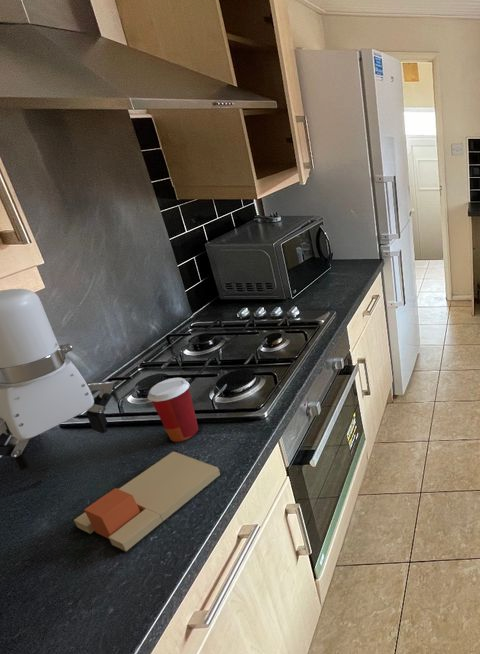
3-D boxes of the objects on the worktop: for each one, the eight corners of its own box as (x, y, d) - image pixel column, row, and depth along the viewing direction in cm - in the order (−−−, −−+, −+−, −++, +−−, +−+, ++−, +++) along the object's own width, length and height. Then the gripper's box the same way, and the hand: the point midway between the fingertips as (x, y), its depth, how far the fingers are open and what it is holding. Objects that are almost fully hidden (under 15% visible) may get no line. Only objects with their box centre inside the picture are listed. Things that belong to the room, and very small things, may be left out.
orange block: (112, 541, 76) (101, 517, 74) (95, 532, 78) (83, 509, 76) (142, 517, 81) (132, 495, 79) (126, 510, 82) (115, 487, 80)
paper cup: (203, 418, 107) (187, 372, 102) (204, 435, 101) (188, 388, 96) (164, 431, 103) (146, 384, 97) (163, 450, 97) (144, 401, 92)
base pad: (126, 551, 75) (122, 544, 74) (77, 527, 79) (73, 520, 78) (220, 474, 90) (218, 467, 90) (175, 457, 95) (173, 451, 94)
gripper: (82, 336, 75) (111, 412, 81) (-68, 391, 60) (-18, 480, 66) (109, 344, 73) (137, 422, 79) (-40, 403, 58) (9, 495, 64)
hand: (66, 448), depth 72 cm, fingers open, 9 cm apart
